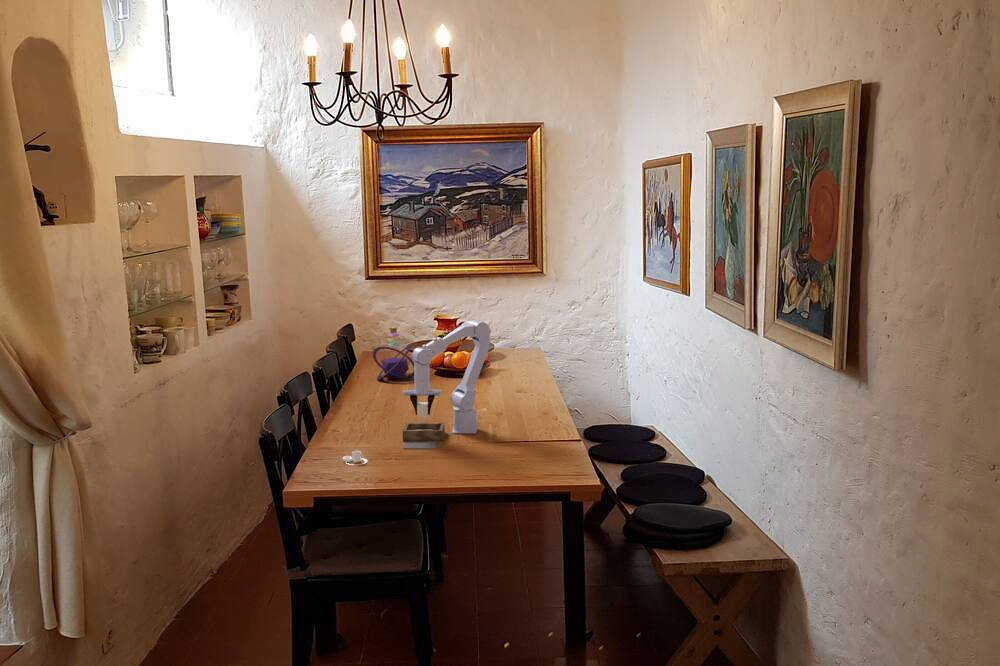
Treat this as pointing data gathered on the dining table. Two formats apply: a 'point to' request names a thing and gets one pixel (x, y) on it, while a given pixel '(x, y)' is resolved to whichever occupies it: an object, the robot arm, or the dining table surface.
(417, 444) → the charcoal mat
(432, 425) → the walnut box
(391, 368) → the decorative bottle
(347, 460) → the teacup and saucer
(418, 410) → the cream block
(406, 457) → the dining table surface
